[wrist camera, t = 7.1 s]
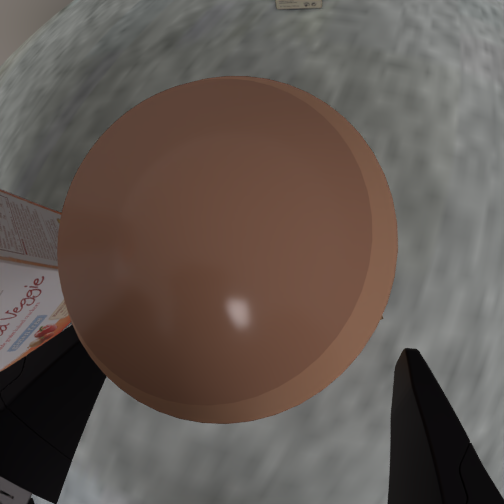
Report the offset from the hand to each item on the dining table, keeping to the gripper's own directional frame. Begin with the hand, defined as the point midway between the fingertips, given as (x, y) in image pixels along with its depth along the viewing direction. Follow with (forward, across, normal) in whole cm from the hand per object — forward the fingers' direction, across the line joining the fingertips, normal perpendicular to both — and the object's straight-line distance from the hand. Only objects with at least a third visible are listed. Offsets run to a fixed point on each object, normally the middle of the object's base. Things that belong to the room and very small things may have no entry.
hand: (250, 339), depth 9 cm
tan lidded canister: (+7, 0, +4) cm, 8 cm away
